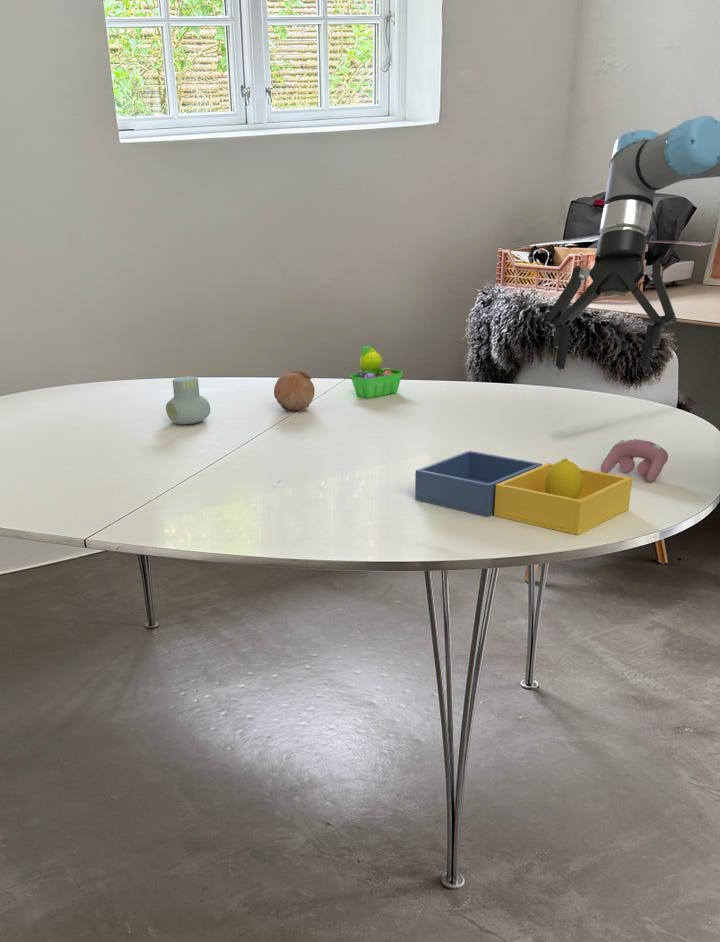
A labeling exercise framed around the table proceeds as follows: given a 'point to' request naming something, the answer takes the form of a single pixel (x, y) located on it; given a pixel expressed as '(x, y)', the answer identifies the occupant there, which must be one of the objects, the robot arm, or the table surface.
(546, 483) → the lemon
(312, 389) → the onion
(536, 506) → the yellow bin
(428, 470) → the blue bin
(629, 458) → the video game controller
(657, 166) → the robot arm
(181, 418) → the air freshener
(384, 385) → the fruit basket
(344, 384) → the table surface
